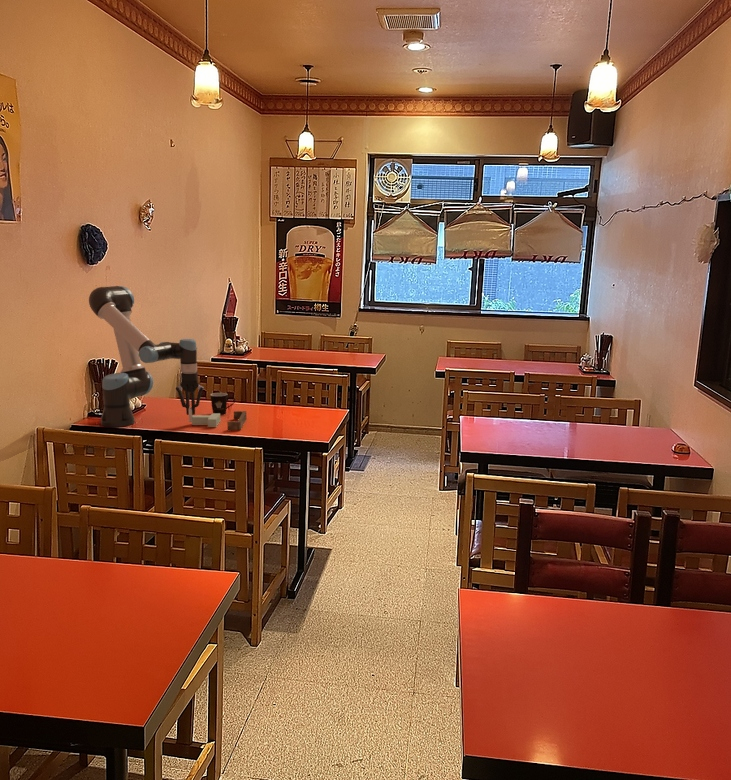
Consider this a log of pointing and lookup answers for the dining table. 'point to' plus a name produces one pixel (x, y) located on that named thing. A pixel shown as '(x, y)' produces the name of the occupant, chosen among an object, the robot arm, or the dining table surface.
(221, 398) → the coffee mug
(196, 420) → the tee block
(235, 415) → the fence
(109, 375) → the robot arm
